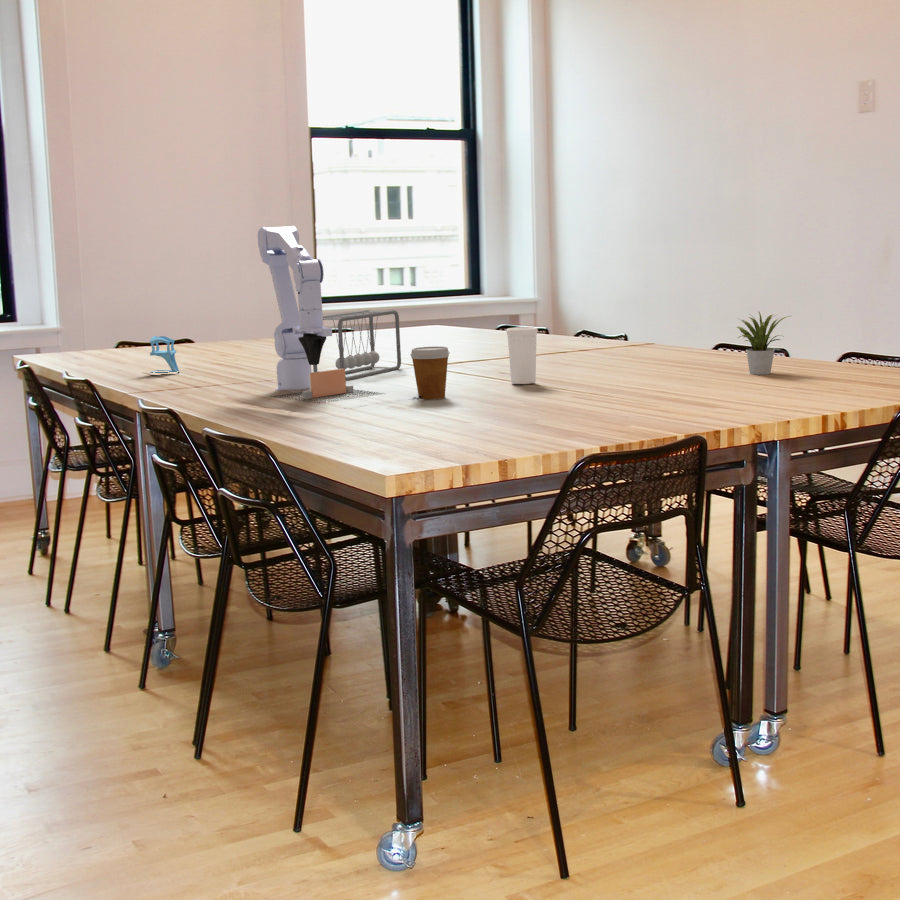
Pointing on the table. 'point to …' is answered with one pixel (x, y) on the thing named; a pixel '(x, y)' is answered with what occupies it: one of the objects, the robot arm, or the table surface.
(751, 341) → the house plant
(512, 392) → the table surface
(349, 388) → the board
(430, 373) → the disposable coffee cup
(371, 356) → the newton's cradle
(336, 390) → the tile
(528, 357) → the cup
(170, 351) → the chair
